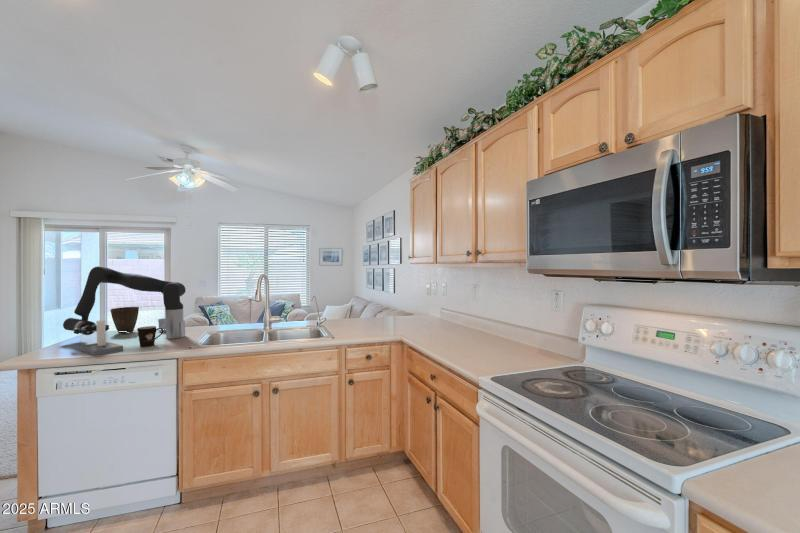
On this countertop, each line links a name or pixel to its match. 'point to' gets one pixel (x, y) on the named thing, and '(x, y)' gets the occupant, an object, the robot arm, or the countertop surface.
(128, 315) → the plant pot
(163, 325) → the medicine box
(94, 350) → the grey base plate
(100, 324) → the switch handle
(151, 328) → the coffee mug
